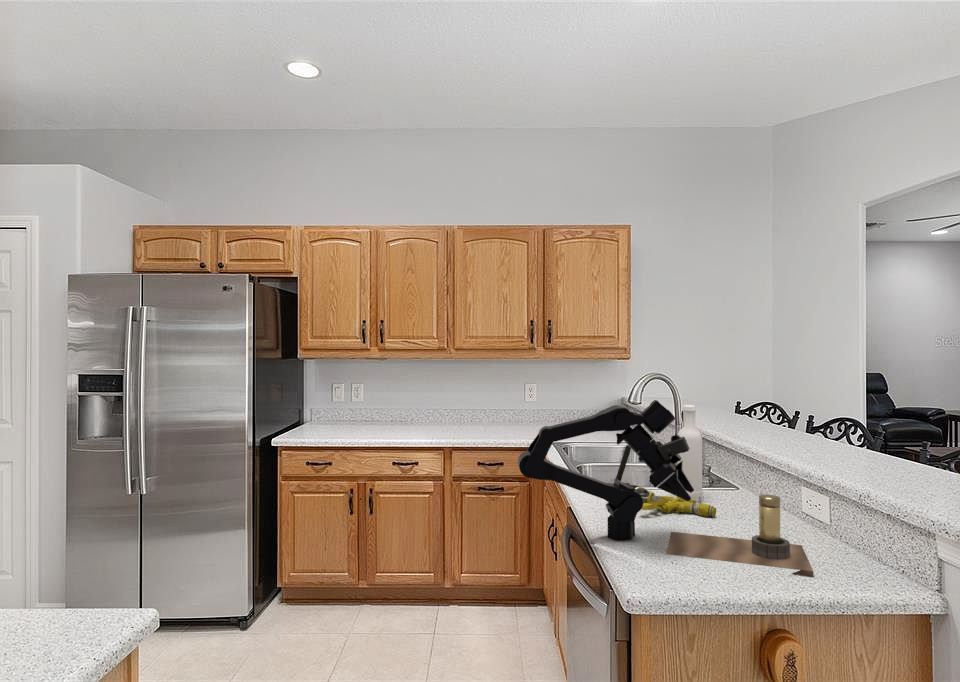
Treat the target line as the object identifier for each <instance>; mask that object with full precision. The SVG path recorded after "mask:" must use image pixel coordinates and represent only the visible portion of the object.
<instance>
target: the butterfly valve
mask: <svg viewBox="0 0 960 682" xmlns="http://www.w3.org/2000/svg"><path fill="white" fill-rule="evenodd" d="M631 451H632V449H631V448H630V446H629V445H628V444H626V445H625V448H624V451H623V455H622V457H621V461H620V464H619V467H618V470H617V473H616V476H615V478H616V479H618V480H619V481H621V482H622V478H623V475H624V472H625V469H626V466H627V463H628V460H629V456H630V454H631ZM630 484H631V483H630ZM631 485H632V486H633V487H634V488H635V489H636V491H637V492H638V493H639V494H640V495H641V497H642V499H643V503H647V498H648V496H649V494H650V493H651V492H653V491H652V490H648V489H647V488H645V487H643V486H640V485H638V484H634V483H633V484H631Z"/></svg>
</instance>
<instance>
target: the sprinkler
mask: <svg viewBox="0 0 960 682" xmlns="http://www.w3.org/2000/svg"><path fill="white" fill-rule="evenodd" d="M699 501H700V502H696V500H692V499H690V500H689V501H686V500H684V499H682V498H679V497H677V496H676V497H673V496H671V495H670V496H668V495H656V494H655V493H654V492H653V491H652V492H651V493H650V494H649V496H648V498H647V503H643V507H642V509H641V510H642V511H651V510H660V512H661V513H666V514H671V513H673V514H674V513H676V514H680V513H681V512H683V513H684V512H685V513H691V514H695V515H697V516H701V517H706V518H710V517H711V518H713V517H716V516H717V507H715V506H714V505H711V504H708V503H707V504H706V503H704V500H703V499H702V501H701V499H700V496H699Z"/></svg>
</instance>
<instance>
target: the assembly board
mask: <svg viewBox="0 0 960 682" xmlns="http://www.w3.org/2000/svg"><path fill="white" fill-rule="evenodd" d="M668 540H669V541H668V545H667V549H666V553H665V554H666V555H671V556H676V557H677V556H678V557H687V558H695V559H697V558H698V559H703V560H713V561H721V562H728V563H729V562H730V563H739V564H746V565H755V566H762V567H772V568H780V569H781V568H782V569H790V570H798V571H795V572H792V573H791V575H793V574H794V575H795V576H804V577H811V578H812V577H813V578H814V570H813V567H812V565H811V563H810V561H809V559H808V557H807V554H806V552H805V550H804V548H803V545H801V544H793V543H792V544H791V543H790V541H789V540H788V539H786V538H783V537H780V544H778V545H774V544H767V543H763V542H760V541H759V534H756V535H753V536H751V539H746V538H737V537H736V538H735V537H727V536H725V537H724V536H719V535H718V536H716V535H708V534H697V533H689V532H688V533H687V532H680V531H679V532H678V531H677V532H675V531H670V534H669V539H668Z"/></svg>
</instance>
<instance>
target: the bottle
mask: <svg viewBox="0 0 960 682" xmlns="http://www.w3.org/2000/svg"><path fill="white" fill-rule="evenodd" d="M696 410H697V409H696V406H695V405H694V404H685V405H683V408H682V411H683V414H682V415H683V426H682V427H681V429H680V430H679V431H678V433H677V434H678V435H679V436H680V437H685V439H686V440H687V444H688V446H689V448H690V449H689V451H687V452H685V453H679V454H678V455H679V456H680V457H681V458H682V459H681V460H680V461H678V462H677V463H680V462H681V461H683V464H682V470H683V472H684V474H685V475H686V477H687V479H688V480H689V482H690V484H691V485H692V487H693V489H694V491H693V492H692V493H690V492H688V491H687V490H686V491H687V493H688V494H689V496H690V497H691V499H692V500H696V502H697V503H699V502H700V501H699V496H700V499H701V502H702V500H703V495H704V493H703V437H702V434H701V432H700V431H699V429H697V427H696Z"/></svg>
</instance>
